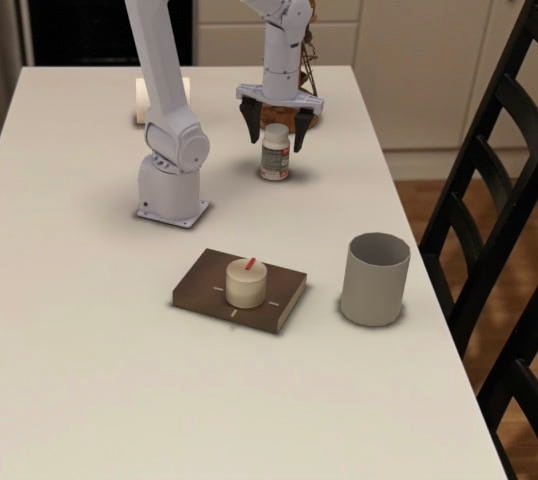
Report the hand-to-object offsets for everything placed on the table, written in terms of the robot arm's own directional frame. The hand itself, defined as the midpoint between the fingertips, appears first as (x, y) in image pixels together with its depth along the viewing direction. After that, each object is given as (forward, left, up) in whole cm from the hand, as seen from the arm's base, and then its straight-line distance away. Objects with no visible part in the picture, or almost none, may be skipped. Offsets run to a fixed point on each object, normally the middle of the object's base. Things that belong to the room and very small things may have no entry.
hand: (276, 145), depth 154 cm
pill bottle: (0, 0, -6) cm, 6 cm away
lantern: (-6, +21, -6) cm, 22 cm away
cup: (+26, -30, -6) cm, 40 cm away
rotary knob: (+10, -38, -3) cm, 39 cm away
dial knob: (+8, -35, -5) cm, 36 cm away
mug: (-27, +12, -6) cm, 30 cm away
